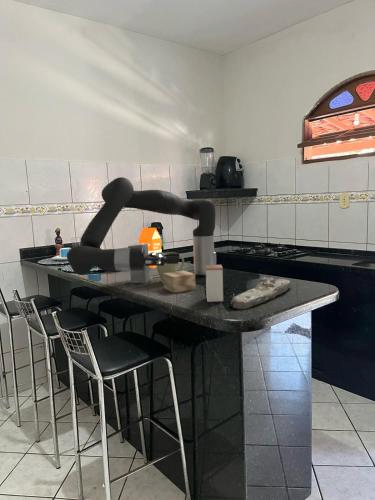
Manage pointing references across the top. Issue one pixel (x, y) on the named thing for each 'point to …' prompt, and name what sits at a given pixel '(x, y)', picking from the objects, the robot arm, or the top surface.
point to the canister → (214, 283)
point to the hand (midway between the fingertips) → (179, 258)
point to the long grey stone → (261, 292)
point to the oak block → (179, 281)
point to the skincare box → (144, 274)
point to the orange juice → (151, 240)
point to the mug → (168, 268)
